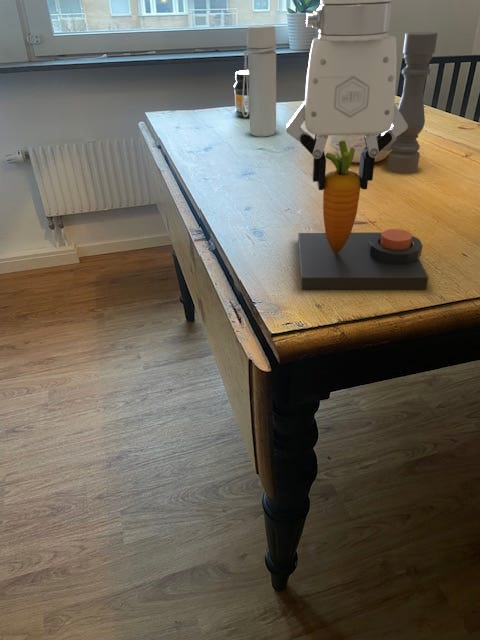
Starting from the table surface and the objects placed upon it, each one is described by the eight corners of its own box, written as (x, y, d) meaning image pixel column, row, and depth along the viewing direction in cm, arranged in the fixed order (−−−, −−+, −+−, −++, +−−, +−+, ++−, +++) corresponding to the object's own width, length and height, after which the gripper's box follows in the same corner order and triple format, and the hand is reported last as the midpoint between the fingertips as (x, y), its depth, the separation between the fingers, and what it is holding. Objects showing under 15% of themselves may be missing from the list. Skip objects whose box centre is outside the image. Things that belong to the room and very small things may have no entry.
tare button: (406, 238, 70) (408, 228, 70) (413, 251, 67) (415, 240, 66) (377, 239, 71) (379, 228, 70) (382, 251, 67) (384, 241, 67)
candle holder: (399, 163, 109) (418, 31, 95) (423, 169, 105) (446, 32, 91) (380, 169, 106) (396, 33, 92) (404, 176, 102) (425, 35, 88)
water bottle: (271, 129, 138) (271, 24, 124) (280, 136, 132) (281, 26, 118) (239, 132, 136) (235, 26, 122) (247, 139, 130) (243, 28, 116)
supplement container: (249, 120, 148) (247, 76, 141) (228, 115, 155) (226, 72, 149) (276, 114, 153) (276, 71, 146) (255, 109, 160) (254, 68, 154)
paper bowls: (379, 172, 104) (384, 132, 100) (316, 161, 112) (317, 124, 108) (407, 154, 114) (413, 117, 110) (347, 145, 122) (350, 110, 118)
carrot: (347, 264, 67) (358, 150, 59) (312, 256, 69) (318, 146, 61) (358, 249, 71) (370, 140, 63) (325, 242, 73) (333, 136, 65)
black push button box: (406, 243, 76) (410, 221, 74) (429, 290, 65) (434, 266, 63) (297, 244, 77) (298, 222, 75) (301, 290, 66) (302, 266, 64)
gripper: (276, 28, 52) (275, 197, 62) (443, 22, 51) (415, 195, 61) (276, 23, 58) (276, 178, 69) (425, 17, 57) (402, 175, 67)
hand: (341, 184), depth 65 cm, fingers closed on carrot, 4 cm apart
